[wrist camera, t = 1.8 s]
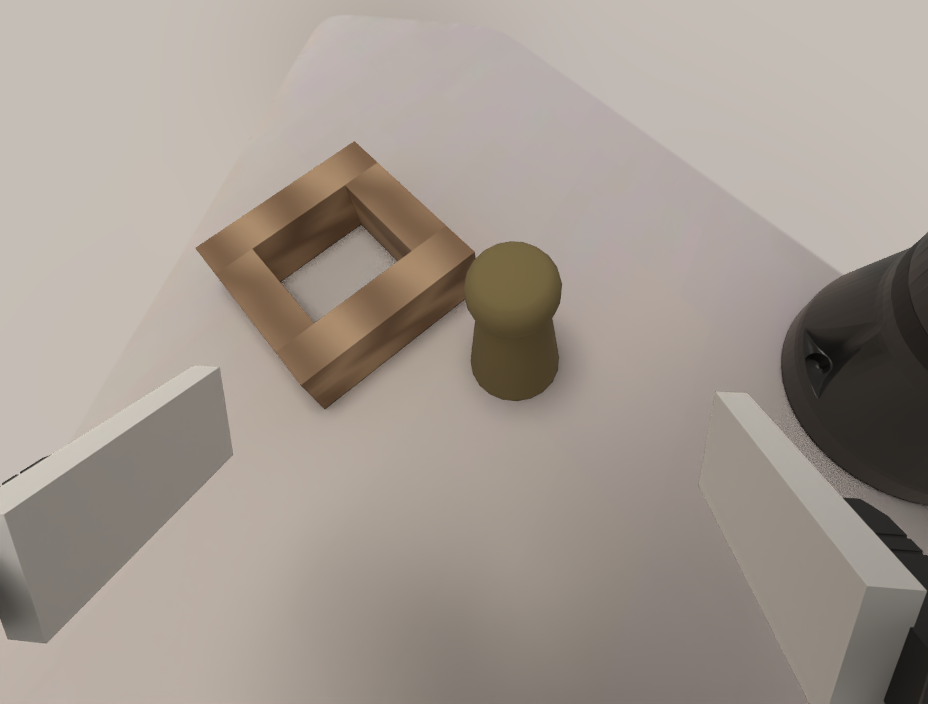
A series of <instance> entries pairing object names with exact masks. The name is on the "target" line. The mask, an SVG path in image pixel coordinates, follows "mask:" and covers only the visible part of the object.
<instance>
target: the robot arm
mask: <svg viewBox="0 0 928 704" xmlns="http://www.w3.org/2000/svg"><path fill="white" fill-rule="evenodd" d="M782 374H783V380H784V385H785V389H786V392H787V395H788V398H789V401H790V403H791V405H792V408H793V410H794V412H795V414H796V416H797V417H798V419H799V421H800V422H801V424H802V425H803V427H804V428H805V430H806V431H807V433H808V434H809V435H810V436H811V438H812V439H813V440H814V441H815V442H816V443H817V445H818V446H819V447H820V448H821V449H822V450H823V451H824V452H825V453H826V454H827V455H828V456H829V457H830V458H832V459H833V460H834V461H835V462H836V463H837V464H839V465H840V466H841V467H842V468H844V469H845V470H846V471H848V472H849V473H851V474H852V475H854V476H855V477H857V478H858V479H860V480H862V481H863V482H865V483H867V484H869V485H871V486H873V487H874V488H877V489H879V490H881V491H883V492H885V493H888V494H890V495H893V496H895V497H898V498H902V499H905V500H908V501H912V502H916V503H920V504H925V505H928V233H927V234H926V235H924V236H923V237H922V238H921V239H920V240H919V241H918V242H917V243H916V244H915V245H913V246H912V247H911V248H909V249H906V250H904V251H901V252H899V253H896V254H894V255H891V256H889V257H887V258H884V259H882V260H879V261H877V262H874V263H872V264H869V265H867V266H864V267H862V268H860V269H857V270H855V271H852V272H850V273H848V274H845V275H843V276H841V277H840V278H838V279H836V280H835V281H833V282H832V283H830V284H829V285H827V286H826V287H825V288H823V289H822V290H821V291H820V292H819V293H818V294H817V295H816V296H815V297H814V298H813V299H812V300H811V301H810V302H809V303H808V304H807V305H806V306H805V307H804V308H803V309H802V310H801V312H800V313H799V314H798V315H797V317H796V318H795V319H794V321H793V323H792V324H791V326H790V328H789V330H788V333H787V335H786V338H785V342H784V346H783V352H782ZM232 455H233V450H232V443H231V437H230V430H229V424H228V418H227V411H226V405H225V398H224V392H223V385H222V379H221V372H220V367H212V366H192V367H190V368H189V369H187V370H186V371H184V372H182V373H181V374H179V375H178V376H176V377H174V378H173V379H171V380H170V381H168V382H166V383H165V384H163V385H162V386H160V387H158V388H157V389H155V390H154V391H152V392H151V393H149V394H147V395H146V396H144V397H143V398H141V399H139V400H138V401H136V402H135V403H133V404H131V405H130V406H128V407H127V408H125V409H123V410H122V411H120V412H119V413H117V414H115V415H114V416H112V417H111V418H109V419H107V420H106V421H104V422H103V423H101V424H100V425H98V426H96V427H95V428H93V429H92V430H90V431H88V432H87V433H85V434H84V435H82V436H80V437H79V438H77V439H76V440H74V441H72V442H71V443H69V444H68V445H66V446H64V447H63V448H61V449H60V450H58V451H57V452H55V453H53V454H51V455H49V456H47V457H44V458H42V459H40V460H39V461H37V462H35V463H34V464H32V465H31V466H29V467H27V468H26V469H24V470H23V471H21V472H20V475H15V476H13V477H11V478H10V479H8V480H7V481H5V482H4V483H2V486H0V619H1V622H2V625H3V627H4V630H5V633H6V636H7V638H8V639H10V640H19V641H29V642H38V643H47V642H48V641H49V640H50V639H51V638H52V637H53V636H54V635H55V634H56V633H57V632H58V631H59V630H60V629H61V628H62V627H63V626H64V625H65V624H66V623H67V622H68V621H69V620H70V619H71V618H72V617H73V616H74V615H75V614H76V613H77V612H78V611H79V610H80V609H81V608H82V607H83V606H84V605H85V604H86V603H87V602H88V601H89V600H90V599H91V598H92V597H93V596H94V595H95V594H96V593H97V592H98V591H99V590H100V589H101V588H102V587H103V586H104V585H105V584H106V583H107V582H108V581H109V580H110V579H111V578H112V577H113V576H114V575H115V574H116V573H117V572H118V571H119V570H120V569H121V568H122V567H123V566H124V565H125V564H126V563H127V562H128V561H129V560H130V558H131V557H132V556H133V555H134V554H135V553H136V552H137V551H138V550H139V549H140V548H141V547H142V546H143V545H144V544H145V543H146V542H147V541H148V540H149V539H150V538H151V537H152V536H153V535H154V534H155V533H156V532H157V531H158V530H159V529H160V528H161V527H162V526H163V525H164V524H165V523H166V522H167V521H168V520H169V519H170V518H171V517H172V516H173V515H174V514H175V513H176V512H177V511H178V510H179V509H180V508H181V507H182V506H183V505H184V504H185V503H186V502H187V501H188V500H189V499H190V498H191V497H192V496H193V495H194V494H195V493H196V492H197V491H198V490H199V489H200V488H201V487H202V486H203V485H204V484H205V483H206V482H207V481H208V480H209V479H210V478H211V477H212V476H213V475H214V474H215V473H216V472H217V471H218V470H219V469H220V467H221V466H222V465H223V464H224V463H225V462H226V461H227V460H228V459H229V458H230V457H231V456H232ZM699 487H700V489H701V491H702V493H703V495H704V497H705V499H706V501H707V503H708V505H709V507H710V509H711V511H712V513H713V515H714V517H715V519H716V521H717V523H718V525H719V527H720V529H721V531H722V533H723V535H724V537H725V539H726V541H727V543H728V545H729V547H730V548H731V550H732V552H733V554H734V556H735V558H736V560H737V562H738V564H739V566H740V568H741V570H742V572H743V574H744V576H745V578H746V580H747V582H748V584H749V586H750V588H751V590H752V592H753V594H754V596H755V598H756V600H757V602H758V604H759V606H760V607H761V609H762V611H763V613H764V615H765V617H766V619H767V621H768V623H769V625H770V627H771V629H772V631H773V633H774V635H775V637H776V639H777V641H778V643H779V645H780V647H781V649H782V651H783V653H784V655H785V657H786V659H787V661H788V663H789V665H790V666H791V668H792V670H793V672H794V674H795V676H796V678H797V680H798V682H799V684H800V686H801V688H802V690H803V692H804V694H805V696H806V698H807V700H808V702H809V704H928V556H927V555H923V553H922V552H923V551H922V550H921V549H920V548H919V547H918V546H917V545H916V544H915V543H914V542H913V541H912V540H911V539H907V535H906V534H905V533H904V532H903V531H902V530H901V529H900V528H899V527H898V526H897V525H896V524H895V523H894V522H893V521H892V520H891V519H890V518H889V517H888V516H887V515H885V514H884V513H882V512H881V511H879V510H877V509H876V508H874V507H873V506H871V505H869V504H868V503H866V502H865V501H863V500H861V499H855V498H842V497H841V496H840V495H839V493H838V492H837V491H836V490H835V489H834V488H833V487H832V486H831V485H830V484H829V482H828V481H827V480H826V479H825V478H824V477H823V476H822V475H821V474H820V473H819V471H818V470H817V469H816V468H815V467H814V466H813V465H812V464H811V463H810V462H809V460H808V459H807V458H806V457H805V456H804V455H803V454H802V453H801V452H800V451H799V449H798V448H797V447H796V446H795V445H794V444H793V443H792V442H791V441H790V440H789V438H788V437H787V436H786V435H785V434H784V433H783V432H782V431H781V430H780V429H779V427H778V426H777V425H776V424H775V423H774V422H773V421H772V420H771V419H770V418H769V416H768V415H767V414H766V413H765V412H764V411H763V410H762V409H761V408H760V407H759V405H758V404H757V403H756V402H755V401H754V400H753V399H752V398H751V397H750V396H749V394H748V393H736V392H716V391H715V396H714V401H713V407H712V413H711V418H710V424H709V430H708V435H707V441H706V447H705V452H704V458H703V464H702V469H701V475H700V481H699Z"/></svg>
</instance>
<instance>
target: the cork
mask: <svg viewBox="0 0 928 704" xmlns="http://www.w3.org/2000/svg"><path fill="white" fill-rule="evenodd" d="M561 289H562V282H561V279H560V275H559V272H558V269H557V266H556V265H555V264H554V262H553V261H552V259H551V258H550V257H549V256H548V255H547V254H546V253H544V252H543V251H541V250H540V249H539V248H537V247H535V246H533V245H530V244H527V243H524V242H511V241H510V242H505V243H500V244H496V245H494V246H492V247H490V248H488V249H486V250H485V251H483V252H482V253H481V254H480V255H479V256H478V257H477V258H476V259H475V260H474V261H473V263H472V264H471V266H470V268H469V270H468V271H467V275H466V279H465V285H464V294H465V299H466V304H467V308H468V310H469V312H470V313H471V315H472V316H473V318H474V320H475V327H474V336H473V345H472V354H471V366H472V371H473V375H474V376H475V378H476V380H477V382H478V383H479V385H480V386H481V387H482V388H483V389H485V390H486V391H487V392H488V393H489V394H491V395H493V396H496V397H498V398H500V399H503V400H512V401H519V400H525V399H530V398H532V397H534V396H536V395H538V394H540V393H542V392H543V391H544V390H545V389H546V388H547V387H548V386H549V385H550V384H551V383H552V382H553V379H554V377H555V375H556V373H557V371H558V361H559V355H558V350H557V344H556V338H555V332H554V326H553V320H552V317H553V316H554V314H555V312H556V310H557V308H558V306H559V304H560V299H561Z"/></svg>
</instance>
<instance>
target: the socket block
mask: <svg viewBox="0 0 928 704" xmlns="http://www.w3.org/2000/svg"><path fill="white" fill-rule="evenodd" d="M361 224H362V225H363V226H364V227H365V229H366V230H367V231H368V232H369V233H370V234H371V235H372V236H373V237H374V238H375V239H376V240H377V241H378V242H379V243H380V244H381V245H382V246H383V247H384V248H385V249H386V250H387V251H388V252H389V253H390V254H391V255H392V256H393V257H394V258H395V259H396V260H397V261H398V262H396V263H395V264H394V265H392V266H391V267H390V268H388V269H387V270H386V271H384V272H383V273H382V274H380V275H379V276H378V277H376V278H375V279H374V280H372V281H371V282H369V283H368V284H367V285H365V286H364V287H363V288H361V289H360V290H359V291H357V292H356V293H355V294H353V295H352V296H351V297H349V298H348V299H347V300H345V301H344V302H343V303H341V304H340V305H339V306H337V307H336V308H334V309H333V310H332V311H330V312H329V313H328V314H326V315H325V316H324V317H322V318H321V319H320V320H318V321H317V322H316V323H314V322H313V321H312V320H311V319H310V317H309V316H308V315H307V314H306V313H305V311H304V310H303V309H302V308H301V307H300V305H299V304H298V303H297V302H296V301H295V299H294V298H293V297H292V296H291V295H290V294H289V292H288V291H287V290H286V289H285V288H284V286H283V285H282V284H281V283H280V281H282V280H283V279H285V278H286V277H287V276H289V275H290V274H292V273H293V272H295V271H296V270H297V269H299V268H300V267H302V266H303V265H304V264H306V263H307V262H309V261H310V260H311V259H313V258H314V257H316V256H317V255H318V254H320V253H321V252H323V251H324V250H325V249H327V248H328V247H330V246H331V245H332V244H334V243H335V242H337V241H338V240H339V239H341V238H342V237H344V236H345V235H346V234H348V233H349V232H351V231H352V230H353V229H355V228H356V227H358V226H359V225H361ZM196 250H197V251H198V252H199V254H200V255H201V256H202V257H203V259H204V260H205V261H206V263H207V264H208V265H209V266H210V268H211V269H212V270H213V272H214V273H215V274H216V276H217V277H218V278H219V279H220V281H221V282H222V283H223V285H224V286H225V287H226V289H227V290H228V291H229V292H230V294H231V295H232V296H233V298H234V299H235V300H236V302H237V303H238V304H239V305H240V307H241V308H242V309H243V311H244V312H245V313H246V315H247V316H248V317H249V318H250V320H251V321H252V322H253V324H254V325H255V326H256V328H257V329H258V330H259V331H260V333H261V334H262V335H263V337H264V338H265V339H266V340H267V342H268V343H269V344H270V346H271V347H272V348H273V350H274V351H275V352H276V353H277V355H278V356H279V357H280V359H281V360H282V361H283V363H284V364H285V365H286V366H287V368H288V369H289V370H290V372H291V373H292V374H293V376H294V377H295V378H296V379H297V381H298V382H299V383H300V385H301V386H302V387H303V388H304V389H305V390H306V391H307V392H308V393H309V394H310V395H311V396H312V397H313V398H314V399H315V400H316V401H317V402H318V403H319V404H320V405H321V406H322V407H323V408H324V409H325V408H327V407H328V406H329V405H331V404H332V403H333V402H334V401H336V400H337V399H338V398H339V397H341V396H342V395H343V394H345V393H346V392H347V391H348V390H350V389H351V388H352V387H353V386H355V385H356V384H357V383H359V382H360V381H361V380H362V379H364V378H365V377H366V376H367V375H369V374H370V373H371V372H373V371H374V370H375V369H376V368H378V367H379V366H380V365H381V364H383V363H384V362H385V361H387V360H388V359H389V358H390V357H392V356H393V355H394V354H395V353H397V352H398V351H399V350H401V349H402V348H403V347H404V346H406V345H407V344H408V343H409V342H411V341H412V340H413V339H415V338H416V337H417V336H418V335H420V334H421V333H422V332H423V331H425V330H426V329H427V328H429V327H430V326H431V325H432V324H434V323H435V322H436V321H437V320H439V319H440V318H441V317H443V316H444V315H445V314H446V313H448V312H449V311H450V310H451V309H453V308H454V307H455V306H457V305H458V304H459V303H460V302H462V301H463V300H464V299H465V294H464V285H465V279H466V275H467V271H468V270H469V268H470V266H471V264H472V263H473V261H474V260H475V259H476V258H475V252H474V251H473V250H472V249H471V248H470V247H469V246H468V245H466V244H465V243H464V242H463V241H462V240H461V239H460V238H459V237H458V236H457V235H456V234H455V233H453V232H452V231H451V230H450V229H449V228H448V227H447V226H446V225H445V224H444V223H443V222H442V221H440V220H439V219H438V218H437V217H436V216H435V215H434V214H433V213H432V212H431V211H430V210H428V209H427V208H426V207H425V206H424V205H423V204H422V203H421V202H420V201H419V200H418V199H417V198H415V197H414V196H413V195H412V194H411V193H410V192H409V191H408V190H407V189H406V188H405V187H404V186H402V185H401V184H400V183H399V182H398V181H397V180H396V179H395V178H394V177H393V176H392V175H391V174H389V173H388V172H387V171H386V170H385V169H384V168H383V167H382V166H381V165H380V164H379V163H377V162H376V161H375V160H374V159H373V158H372V157H371V156H370V155H369V154H368V153H367V152H366V151H364V150H363V149H362V148H361V147H360V146H359V145H358V144H357V143H356V142H355V141H354V142H353V143H351V144H350V145H348V146H347V147H345V148H344V149H342V150H341V151H339V152H338V153H336V154H335V155H333V156H332V157H330V158H329V159H327V160H326V161H324V162H323V163H321V164H320V165H318V166H317V167H315V168H314V169H312V170H311V171H309V172H308V173H306V174H305V175H303V176H302V177H300V178H299V179H297V180H296V181H294V182H293V183H291V184H290V185H288V186H287V187H285V188H284V189H282V190H281V191H280V192H278V193H277V194H275V195H274V196H272V197H271V198H269V199H268V200H266V201H265V202H263V203H262V204H260V205H259V206H257V207H256V208H254V209H253V210H251V211H250V212H248V213H247V214H245V215H244V216H242V217H241V218H239V219H238V220H236V221H235V222H233V223H232V224H230V225H229V226H227V227H226V228H224V229H223V230H221V231H220V232H218V233H217V234H215V235H214V236H212V237H211V238H209V239H208V240H207V241H205V242H204V243H202V244H201V245H199V246H198V247H196Z"/></svg>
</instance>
